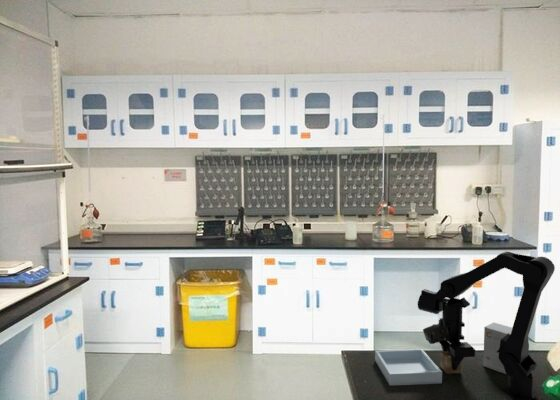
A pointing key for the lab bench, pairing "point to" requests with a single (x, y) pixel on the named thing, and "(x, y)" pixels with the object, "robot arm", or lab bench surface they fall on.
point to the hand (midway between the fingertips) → (450, 366)
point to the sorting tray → (407, 367)
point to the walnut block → (448, 363)
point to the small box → (494, 345)
